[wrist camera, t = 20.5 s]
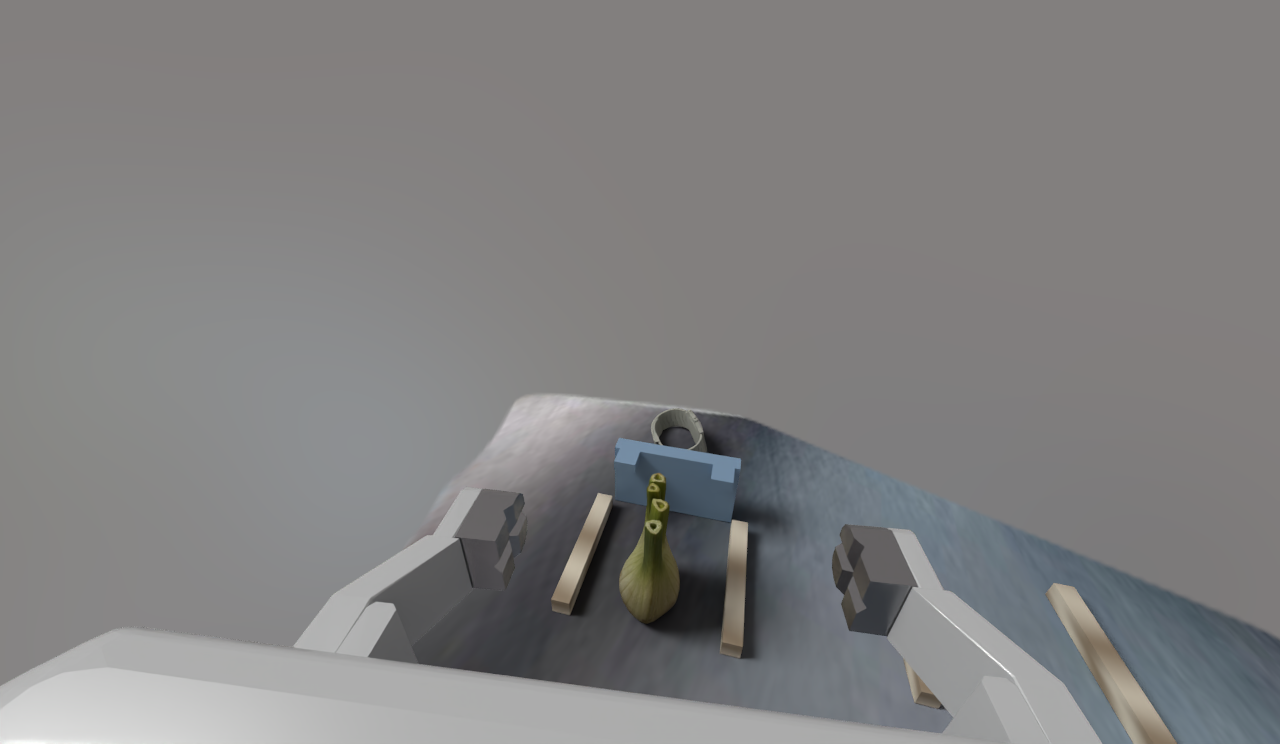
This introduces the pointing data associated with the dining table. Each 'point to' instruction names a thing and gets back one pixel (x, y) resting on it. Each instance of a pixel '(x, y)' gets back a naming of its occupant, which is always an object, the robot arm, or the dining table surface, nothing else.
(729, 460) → the blue notched panel
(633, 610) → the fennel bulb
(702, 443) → the wristwatch
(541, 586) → the dining table surface
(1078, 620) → the beige small bars
